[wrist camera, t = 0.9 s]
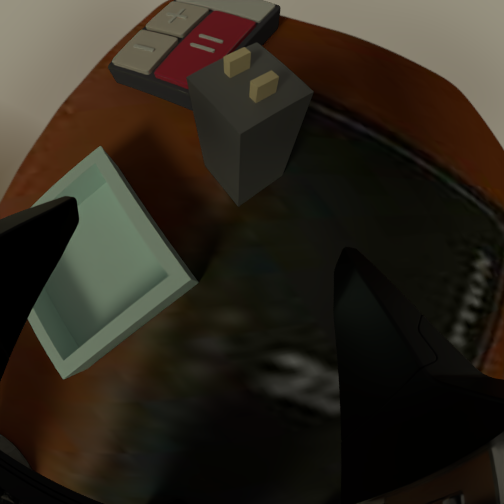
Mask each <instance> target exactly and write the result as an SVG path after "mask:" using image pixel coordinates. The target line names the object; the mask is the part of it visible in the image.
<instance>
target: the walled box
mask: <svg viewBox="0 0 504 504" xmlns="http://www.w3.org/2000/svg"><path fill="white" fill-rule="evenodd" d="M64 196H70V197H75V198H76V200H77V205H78V213H79V223H78V226H77V228H76V230H75V232H74V234H73V235H72V237H71V239H70V241H69V243H68V245H67V247H66V249H65V251H64V253H63V255H62V257H61V259H60V261H59V262H58V264H57V266H56V267H55V269H54V271H53V272H52V274H51V276H50V278H49V279H48V281H47V283H46V285H45V286H44V288H43V290H42V292H41V294H40V296H39V297H38V299H37V301H36V303H35V305H34V307H33V309H32V311H31V313H30V315H29V317H28V320H29V322H30V324H31V326H32V328H33V330H34V332H35V334H36V335H37V337H38V339H39V341H40V343H41V344H42V346H43V348H44V350H45V351H46V353H47V355H48V356H49V358H50V360H51V361H52V363H53V364H54V366H55V368H56V369H57V371H58V372H59V374H60V375H61V377H62V378H63V379H66V378H68V377H70V376H72V375H75V374H77V373H79V372H81V371H84V370H86V369H88V368H89V367H90V366H91V365H93V364H94V363H95V362H97V361H98V360H99V359H100V358H102V357H103V356H104V355H106V354H107V353H108V352H109V351H111V350H112V349H113V348H115V347H116V346H117V345H118V344H120V343H121V342H122V341H124V340H125V339H126V338H127V337H129V336H130V335H131V334H133V333H134V332H135V331H137V330H138V329H139V328H140V327H142V326H143V325H144V324H146V323H147V322H148V321H149V320H151V319H152V318H153V317H155V316H156V315H157V314H159V313H160V312H161V311H162V310H164V309H165V308H166V307H168V306H169V305H170V304H172V303H173V302H174V301H175V300H177V299H178V298H179V297H181V296H182V295H183V294H185V293H186V292H187V291H188V290H190V289H191V288H192V287H194V286H195V285H196V284H198V283H199V282H198V281H197V279H196V278H195V277H194V275H193V274H192V273H191V271H190V270H189V268H188V267H187V266H186V264H185V263H184V262H183V260H182V259H181V258H180V256H179V255H178V253H177V252H176V251H175V249H174V248H173V246H172V245H171V244H170V242H169V241H168V239H167V238H166V237H165V235H164V234H163V232H162V231H161V230H160V228H159V227H158V225H157V224H156V222H155V221H154V219H153V218H152V217H151V215H150V214H149V212H148V211H147V209H146V208H145V206H144V205H143V203H142V202H141V200H140V199H139V198H138V196H137V195H136V193H135V192H134V190H133V189H132V187H131V186H130V184H129V182H128V181H127V179H126V178H125V176H124V175H123V173H122V172H121V170H120V169H119V167H118V166H117V165H116V164H115V162H114V161H113V160H112V159H111V158H110V156H109V155H108V154H107V153H106V152H105V151H104V149H103V148H102V147H101V146H100V147H98V148H97V149H96V150H95V151H93V152H92V153H91V154H90V155H88V156H87V157H86V158H85V159H83V160H82V161H81V162H80V163H79V164H77V165H76V166H75V167H74V168H73V169H72V170H70V171H69V172H68V173H67V174H66V175H65V176H64V177H62V178H61V179H60V180H59V181H58V182H57V183H56V184H55V185H54V186H53V187H52V188H50V189H49V190H48V191H47V192H46V193H45V194H44V195H43V196H42V197H41V198H40V199H39V200H38V201H37V202H36V203H35V204H34V205H33V206H32V207H34V206H37V205H40V204H43V203H46V202H49V201H52V200H54V199H57V198H60V197H64ZM32 207H31V208H32Z"/></svg>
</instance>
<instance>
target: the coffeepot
mask: <svg viewBox="0 0 504 504" xmlns="http://www.w3.org/2000/svg"><path fill="white" fill-rule="evenodd" d="M0 450H1V451H3V452H4V453H6V454H7V455H9V456H10V457H12V458H14V459H15V460H17V461H18V462H20V463H22V464H23V465H25V466H27V467H28V468H30V469H31V467H30V465H29V464H28V462H27V460H26V459H25V458H24V456H23V455H22V454H21V452H20V451H19V450H18V449H17V448H16V447H15V446H14V445H13V444H12V443H11V442H10V441H9V440H8V439H7V438H5V437H4V436H2V435H1V434H0ZM1 498H3V499H6V500H8V501H10V502H12V503H14V502H13V501H11V500H9V499H7V498H5V497H3V496H1Z"/></svg>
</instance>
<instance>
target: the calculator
mask: <svg viewBox="0 0 504 504" xmlns="http://www.w3.org/2000/svg"><path fill="white" fill-rule="evenodd" d="M279 16H280V6H279V5H275V4H272V3H270V2H267V1H263V0H174V1H173V2H171V3H170V4H169V5H167V6H166V7H165V8H164V9H163V10H162V11H161V12H159V13H158V14H157V15H156V16H155V17H154V18H153V19H152V20H151V21H150V22H149V23H147V25H146V26H145V27H144V28H143V29H142V30H141V31H139V32H138V33H137V34H136V35H135V36H134V37H133V38H132V39H131V40H130V41H129V42H128V43H127V44H126V45H125V46H124V47H123V49H122V50H121V51H120V52H119V53H118V54H117V55H116V56H115V57H114V58H113V60H112V62H111V63H110V64H109V66H108V68H109V70H110V72H111V73H112V75H113V77H114V78H115V80H116V82H117V83H120V84H123V85H126V86H129V87H132V88H135V89H138V90H140V91H143V92H146V93H149V94H151V95H154V96H157V97H159V98H162V99H165V100H167V101H170V102H172V103H175V104H178V105H180V106H183V107H185V108H187V109H190V110H192V111H193V108H192V103H191V98H190V94H189V89H188V84H187V79H186V77H187V76H189V75H191V74H193V73H195V72H196V71H198V70H200V69H202V68H204V67H206V66H208V65H210V64H212V63H214V62H216V61H218V60H220V59H222V58H224V56H226V55H228V54H230V53H232V52H234V51H237V50H239V49H241V48H243V47H247V46H250V45H252V44H254V43H258V44H260V45H261V46H262V45H263V44H264V43H265V42H266V41H267V39H268V38H269V37H270V36H271V35H272V34H273V33H274V32H275V31H276V30H277V29H278V23H279Z"/></svg>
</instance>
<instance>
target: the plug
mask: <svg viewBox="0 0 504 504" xmlns="http://www.w3.org/2000/svg"><path fill="white" fill-rule="evenodd" d="M186 79H187V84H188V89H189V94H190V98H191V103H192V108H193V113H194V117H195V122H196V127H197V131H198V136H199V141H200V145H201V150H202V154H203V159H204V163H205V166H206V167H207V169H208V170H209V171H210V172H211V174H212V175H213V176H214V177H215V179H216V180H217V181H218V182H219V183H220V185H221V186H222V187H223V188H224V190H225V191H226V192H227V193H228V195H229V196H230V197H231V198H232V200H233V201H234V202H235V203H236V205H237V206H238V207H239V206H240V205H241V204H243V203H244V202H246V201H247V200H248V199H250V198H251V197H253V196H254V195H255V194H257V193H258V192H260V191H261V190H262V189H264V188H265V187H267V186H268V185H269V184H271V183H272V182H274V181H275V180H276V179H278V178H279V177H281V176H282V175H283V172H284V170H285V167H286V164H287V162H288V159H289V156H290V154H291V151H292V148H293V146H294V143H295V140H296V138H297V135H298V132H299V130H300V127H301V125H302V122H303V119H304V117H305V114H306V111H307V109H308V106H309V103H310V101H311V98H312V95H313V93H314V92H313V91H312V90H311V89H310V88H309V87H308V86H307V85H306V84H305V83H304V82H303V81H302V80H301V79H299V78H298V77H297V76H296V75H295V74H294V73H293V72H292V71H291V70H289V69H288V68H287V67H286V66H285V65H284V64H283V63H281V62H280V61H279V60H278V59H277V58H276V57H274V56H273V55H272V54H271V53H270V52H268V51H267V50H266V49H265V48H263V47H262V46H261V45H260V44H258V43H254V44H252V45H250V46H247V47H243V48H241V49H239V50H237V51H234V52H232V53H230V54H228V55H226V56H224V58H222V59H220V60H218V61H216V62H214V63H212V64H210V65H208V66H206V67H204V68H202V69H200V70H198V71H196V72H195V73H193V74H191V75H189V76H187V77H186Z"/></svg>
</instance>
